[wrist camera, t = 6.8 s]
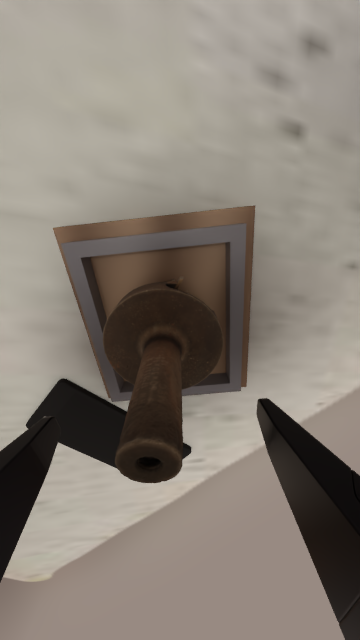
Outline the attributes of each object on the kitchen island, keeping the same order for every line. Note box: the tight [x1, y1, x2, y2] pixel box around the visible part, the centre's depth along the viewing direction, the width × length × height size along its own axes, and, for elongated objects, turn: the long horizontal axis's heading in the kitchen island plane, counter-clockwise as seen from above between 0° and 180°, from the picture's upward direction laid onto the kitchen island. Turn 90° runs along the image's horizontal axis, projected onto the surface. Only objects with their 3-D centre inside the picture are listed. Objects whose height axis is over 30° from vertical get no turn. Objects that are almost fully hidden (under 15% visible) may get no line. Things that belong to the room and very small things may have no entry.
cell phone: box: [26, 379, 191, 469], centre depth 25 cm, size 9×18×1 cm, turn 50°
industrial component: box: [103, 277, 223, 483], centre depth 12 cm, size 9×7×12 cm
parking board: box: [53, 206, 255, 398], centre depth 18 cm, size 14×16×1 cm
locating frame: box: [61, 223, 246, 402], centre depth 17 cm, size 12×14×2 cm
